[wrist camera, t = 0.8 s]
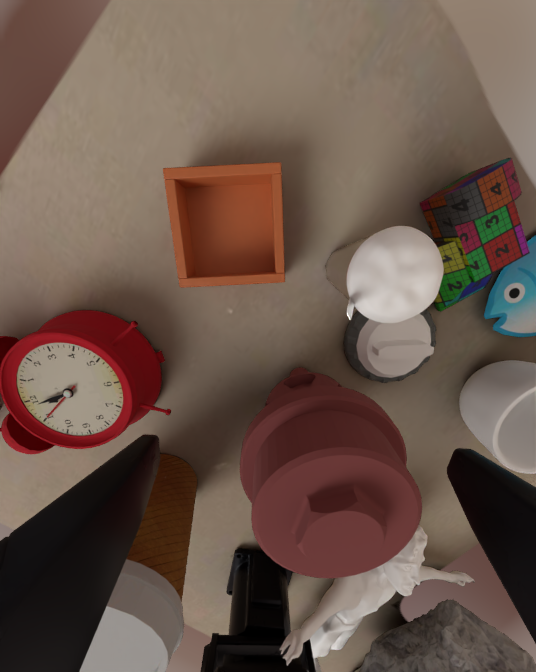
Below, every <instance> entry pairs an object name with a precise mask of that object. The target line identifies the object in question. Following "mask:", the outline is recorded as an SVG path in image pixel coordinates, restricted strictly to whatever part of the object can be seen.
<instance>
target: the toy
mask: <svg viewBox="0 0 536 672" xmlns="http://www.w3.org/2000/svg"><path fill="white" fill-rule="evenodd" d="M527 245H528V248H529V251H530V253H529V254H527V255H526V256H524V257H522V258H520V259H518V260H517V261H515V262H513V263H511V264H509V265H507V266H506V267H504V268H503V270H502V271H501V272H500V274H499V276H498V278H497V280H496V282H495V284H494V286H493V288H492V290H491V292H490V294H489V297H488V301H487V305H486V309H485V313H484V317H485V319H490V318H496V317H501V318H500V319H499V320H498V321H497V322H496V323H495V324H494V325H493V330H495V331H497V332H499V333H501V334H503V335H509V336H515V337H529V336H536V235H535V236H534V237H532V238H531V239H530V240H529V241H528V242H527Z"/></svg>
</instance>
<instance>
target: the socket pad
mask: <svg viewBox="0 0 536 672" xmlns="http://www.w3.org/2000/svg"><path fill="white" fill-rule="evenodd" d="M281 172H282V171H281V162H275V163H256V164H236V165H217V166H197V167H178V168H164V169H163V173H164V179H165V187H166V194H167V201H168V208H169V215H170V222H171V230H172V237H173V244H174V251H175V258H176V265H177V272H178V278H179V285H180V287H181V288H182V287H201V286H220V285H239V284H259V283H278V282H285V274H284V272H285V266H284V235H283V203H282V175H281Z"/></svg>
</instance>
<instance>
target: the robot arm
mask: <svg viewBox="0 0 536 672" xmlns="http://www.w3.org/2000/svg"><path fill="white" fill-rule="evenodd" d="M159 464H160V447H159V438H158V436H157V435H142V436H140V437H139V438H138V439H136V440H135V441H134V442H132V443H131V444H130V445H128V446H127V447H126V448H124V449H123V450H122V451H120V452H119V453H118V454H116V455H115V456H114V457H112V458H111V459H110V460H108V461H107V462H106V463H104V464H103V465H102V466H100V467H99V468H98V469H96V470H95V471H94V472H92V473H91V474H90V475H88V476H87V477H85V478H84V479H83V480H81V481H80V482H79V483H77V484H76V485H75V486H73V487H72V488H71V489H69V490H68V491H67V492H65V493H64V494H63V495H61V496H60V497H59V498H57V499H56V500H55V501H53V502H52V503H51V504H49V505H48V506H47V507H45V508H44V509H43V510H41V511H40V512H39V513H37V514H36V515H35V516H33V517H32V518H31V519H29V520H28V521H27V522H25V523H24V524H22V525H21V526H20V527H18V528H17V529H16V530H14V531H13V532H12V533H11V534H10V536H9V537H5V538H4V539H2V540H1V541H0V672H79V671H80V669H81V667H82V664H83V662H84V659H85V657H86V655H87V652H88V650H89V647H90V645H91V643H92V640H93V638H94V635H95V633H96V631H97V628H98V626H99V623H100V621H101V619H102V616H103V614H104V611H105V609H106V607H107V604H108V602H109V599H110V597H111V595H112V592H113V590H114V587H115V585H116V583H117V580H118V578H119V575H120V573H121V570H122V568H123V566H124V563H125V561H126V558H127V556H128V554H129V551H130V549H131V546H132V544H133V542H134V539H135V537H136V534H137V532H138V530H139V527H140V525H141V522H142V519H143V516H144V513H145V510H146V507H147V504H148V501H149V497H150V494H151V491H152V487H153V484H154V481H155V478H156V474H157V471H158V468H159ZM447 474H448V478H449V480H450V482H451V484H452V486H453V489H454V491H455V493H456V495H457V497H458V500H459V502H460V504H461V506H462V508H463V511H464V513H465V515H466V517H467V519H468V521H469V524H470V526H471V528H472V530H473V532H474V534H475V535H476V537H477V539H478V541H479V543H480V545H481V546H482V548H483V550H484V552H485V554H486V555H487V557H488V559H489V561H490V563H491V564H492V566H493V568H494V570H495V571H496V573H497V575H498V577H499V579H500V580H501V582H502V584H503V586H504V588H505V589H506V591H507V593H508V595H509V597H510V598H511V600H512V602H513V604H514V605H515V607H516V609H517V611H518V613H519V615H520V616H521V618H522V620H523V622H524V623H525V625H526V627H527V629H528V631H529V632H530V634H531V636H532V638H533V639H534V641H535V643H536V487H534V486H533V485H531V484H529V483H527V482H526V481H524V480H522V479H521V478H519V477H517V476H516V475H514V474H512V473H511V472H509V471H507V470H506V469H504V468H502V467H501V466H499V465H497V464H496V463H494V462H492V461H491V460H489V459H487V458H485V457H484V456H482V455H480V454H479V453H477V452H475V451H474V450H471V449H462V448H458V449H456V450H455V451H454V452H453V455H452V457H451V460H450V462H449V464H448V467H447ZM292 572H293V571H290V570H288V569H286V568H284V567H282V566H281V565H279V564H277V563H276V562H275V561H273V560H272V559H271V558H270V557H269V556H267V554H266V553H265V552H262V551H254V550H245V549H237V550H235V553H234V558H233V562H232V567H231V572H230V576H229V581H228V586H227V594H228V595H232V603H231V614H230V625H229V635H219V633H213V634H212V640H211V642H210V644H208V645H206V646H205V647H204V654H203V661H202V667H201V672H316V670H315V665H314V659H313V654H312V648H311V643H310V639H309V640H307V641H306V642H304V643H303V649H302V652H301V654H300V656H299V657H298V658H294V659H292V661H291V662H290V663H289V665H288V666H287V665H286V660H285V658H284V659H283V656H284V655H285V654H286V653H287V652H288V649H289V647H290V645H289V646H288V647H287V648H286V649H285V650H284V652H283V654H281V651H282V650H280V648H281V646H282V644H283V642H284V640H285V639H286V637H287V636H288V635H289V634H290V632H291V630H290V616H289V602H288V585H289V582H290V579H291V575H292Z"/></svg>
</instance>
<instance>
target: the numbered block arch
mask: <svg viewBox="0 0 536 672" xmlns="http://www.w3.org/2000/svg"><path fill="white" fill-rule="evenodd" d="M521 193H522V192H521V188H520V185H519V182H518V178H517V175H516V171H515V168H514V165H513V161H512V158H507V159H504V160H501V161H499V162H496V163H494V164H491V165H488V166H486V167H483V168H481V169H478V170H476V171H473V172H470V173H468V174H467V175H465V176H463V177H462V178H460V179H459V180H457V181H455V182H454V183H452V184H450V185H449V186H447V187H445V188H444V189H442V190H440V191H439V192H437V193H436V194H434V195H432V196H431V197H429V198H427V199H426V200H424V201H422V202H421V203H420V206H421V208H422V211H423V213H424V215H425V218H426V220H427V223H428V225H429V228H430V230H431V233H432V235H433V238H434V240H435V244H436V246H437V248H438V250H439V252H440V255H441V258H442V262H443V267H444V272H443V277H442V281H441V284H440V288H439V291H438V294H437V296H436V298H435V300H434V301H433V302H434V304H435V306H436V309H437V310H438V311H443V310H444V309H446V308H448V307H450V306H452V305H454V304H455V303H457V302H459V301H461V300H463V299H465V298H467V297H468V296H470V295H472V294H474V293H476V292H478V291H479V290H481V289H483V288H485V287H486V285H487V284H488V282H489V280H490V279H491V277H492V275H493V274H494V273H495V272H497V271H498V270H500V269H502V268H504V267H506V266H507V265H509V264H511V263H513V262H515V261H517V260H518V259H520V258H522V257H524V256H526V255H527V254H529V253H530V251H529V248H528V245H527V242H526V238H525V235H524V232H523V229H522V225H521V222H520V219H519V216H518V212H517V209H516V206H515V203H514V200H516V199H517V198H518V197H519V196H520V195H521Z"/></svg>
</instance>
